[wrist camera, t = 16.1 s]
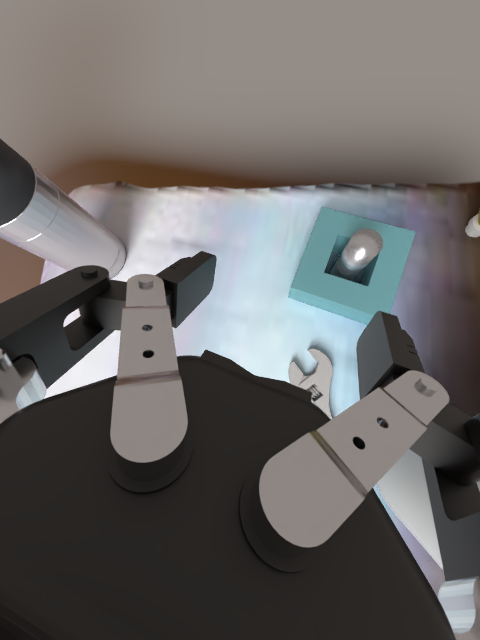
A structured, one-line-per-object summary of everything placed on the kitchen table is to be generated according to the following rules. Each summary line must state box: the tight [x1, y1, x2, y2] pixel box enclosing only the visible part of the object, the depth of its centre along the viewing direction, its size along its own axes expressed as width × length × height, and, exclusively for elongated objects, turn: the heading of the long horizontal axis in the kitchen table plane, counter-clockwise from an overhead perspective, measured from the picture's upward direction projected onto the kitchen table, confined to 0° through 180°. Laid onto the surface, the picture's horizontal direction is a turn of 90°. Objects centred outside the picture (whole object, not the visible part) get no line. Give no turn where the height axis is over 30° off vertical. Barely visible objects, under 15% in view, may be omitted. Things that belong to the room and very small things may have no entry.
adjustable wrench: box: [289, 349, 333, 420], centre depth 34 cm, size 25×6×2 cm, turn 9°
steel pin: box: [330, 229, 383, 281], centre depth 33 cm, size 4×4×10 cm
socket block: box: [288, 207, 415, 325], centre depth 36 cm, size 13×13×5 cm
